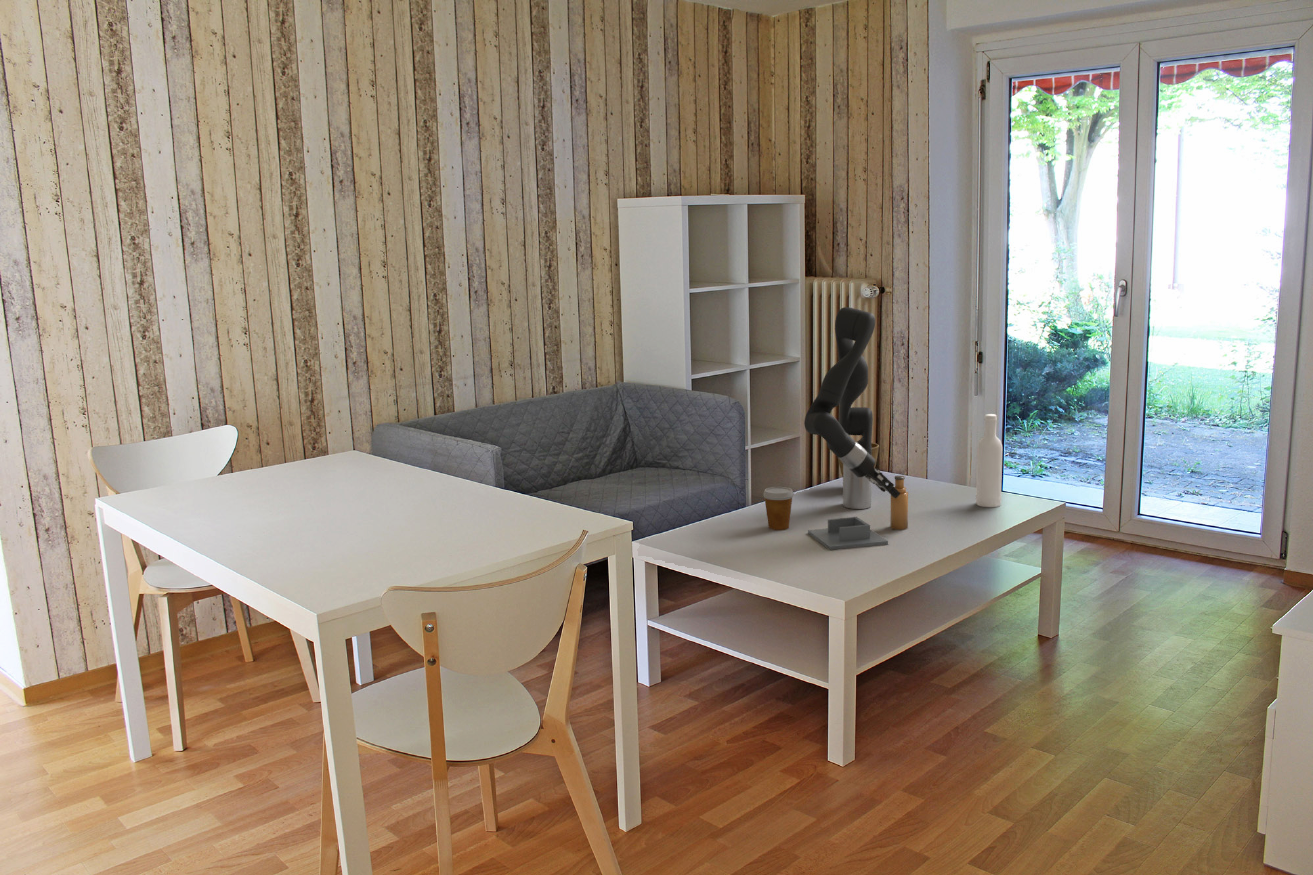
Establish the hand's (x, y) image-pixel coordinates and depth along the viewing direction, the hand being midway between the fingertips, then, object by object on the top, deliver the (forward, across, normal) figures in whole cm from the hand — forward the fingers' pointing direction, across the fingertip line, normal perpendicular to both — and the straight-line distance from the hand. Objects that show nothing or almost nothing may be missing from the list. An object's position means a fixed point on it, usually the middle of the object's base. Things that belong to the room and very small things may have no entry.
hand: (891, 492), depth 311 cm
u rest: (-4, -6, +20) cm, 21 cm away
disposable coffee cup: (-15, +12, +31) cm, 36 cm away
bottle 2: (+37, +16, -21) cm, 46 cm away
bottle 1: (+10, 0, +6) cm, 11 cm away
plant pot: (+15, +50, +1) cm, 52 cm away
